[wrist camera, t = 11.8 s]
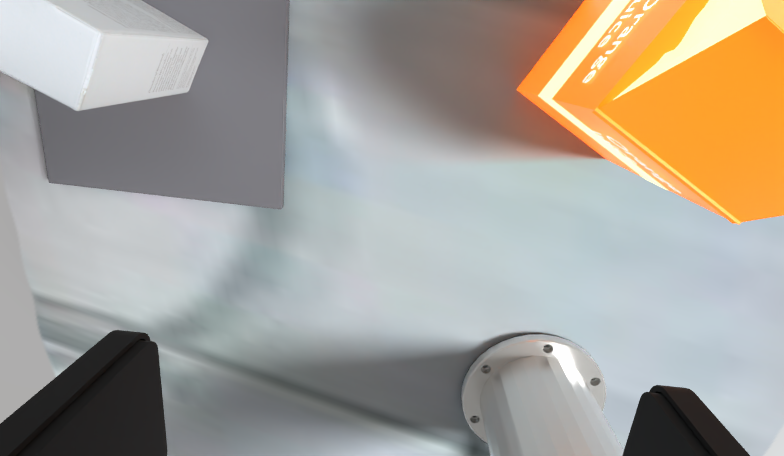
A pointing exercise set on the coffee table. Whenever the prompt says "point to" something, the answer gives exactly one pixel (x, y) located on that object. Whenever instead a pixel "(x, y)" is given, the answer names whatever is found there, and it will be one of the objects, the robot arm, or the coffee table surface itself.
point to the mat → (190, 117)
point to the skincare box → (97, 50)
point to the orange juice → (676, 96)
